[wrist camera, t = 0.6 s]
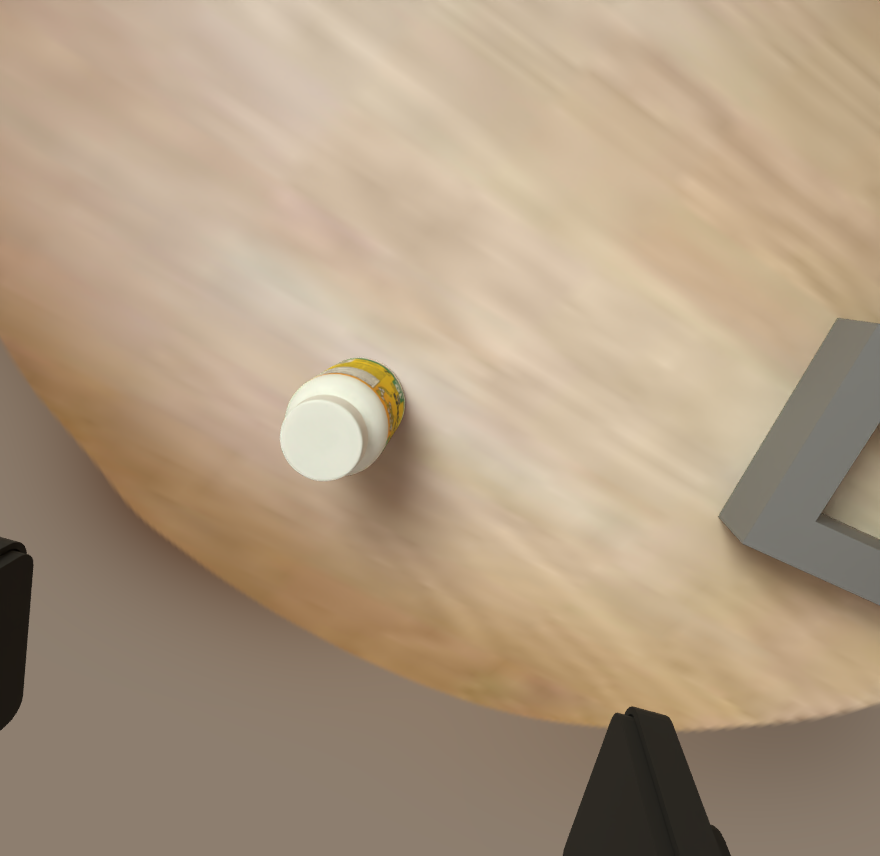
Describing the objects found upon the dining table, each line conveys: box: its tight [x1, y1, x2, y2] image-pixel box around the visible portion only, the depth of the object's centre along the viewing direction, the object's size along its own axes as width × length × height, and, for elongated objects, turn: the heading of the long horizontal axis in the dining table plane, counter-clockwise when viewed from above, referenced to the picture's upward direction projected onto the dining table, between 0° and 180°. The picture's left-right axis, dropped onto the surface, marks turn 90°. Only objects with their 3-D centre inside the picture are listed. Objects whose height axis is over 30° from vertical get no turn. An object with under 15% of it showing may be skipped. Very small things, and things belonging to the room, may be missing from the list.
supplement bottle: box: [280, 358, 405, 481], centre depth 35 cm, size 5×5×10 cm
